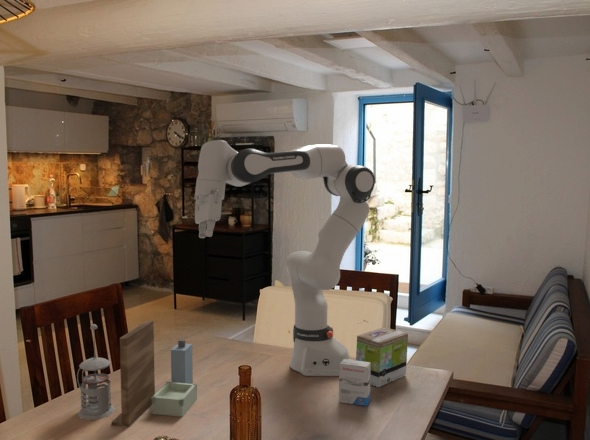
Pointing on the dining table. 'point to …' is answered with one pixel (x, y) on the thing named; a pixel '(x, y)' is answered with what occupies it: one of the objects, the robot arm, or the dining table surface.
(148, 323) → the wooden flat block
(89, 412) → the french press
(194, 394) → the pale green open box
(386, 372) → the tea box
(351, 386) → the ink box
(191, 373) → the grey block with tab
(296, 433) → the dining table surface
